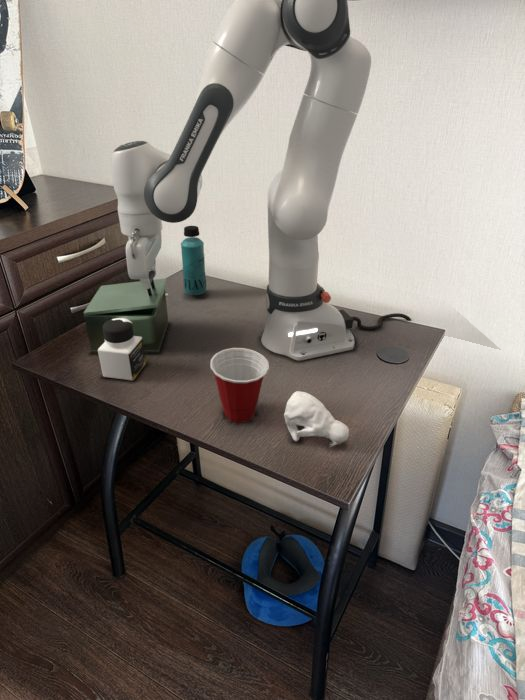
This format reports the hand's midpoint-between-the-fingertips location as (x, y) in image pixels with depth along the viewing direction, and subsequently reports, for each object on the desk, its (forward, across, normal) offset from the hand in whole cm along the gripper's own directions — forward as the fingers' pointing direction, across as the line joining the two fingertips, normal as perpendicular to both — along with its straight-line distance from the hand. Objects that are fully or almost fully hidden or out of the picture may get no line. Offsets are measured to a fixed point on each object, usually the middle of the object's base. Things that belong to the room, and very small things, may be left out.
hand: (149, 281), depth 115 cm
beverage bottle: (+15, +25, -7) cm, 30 cm away
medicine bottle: (+15, -14, +5) cm, 21 cm away
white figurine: (+16, -36, -36) cm, 53 cm away
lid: (+4, 0, +6) cm, 7 cm away
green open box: (+15, 0, +6) cm, 16 cm away
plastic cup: (+15, -30, -21) cm, 40 cm away
